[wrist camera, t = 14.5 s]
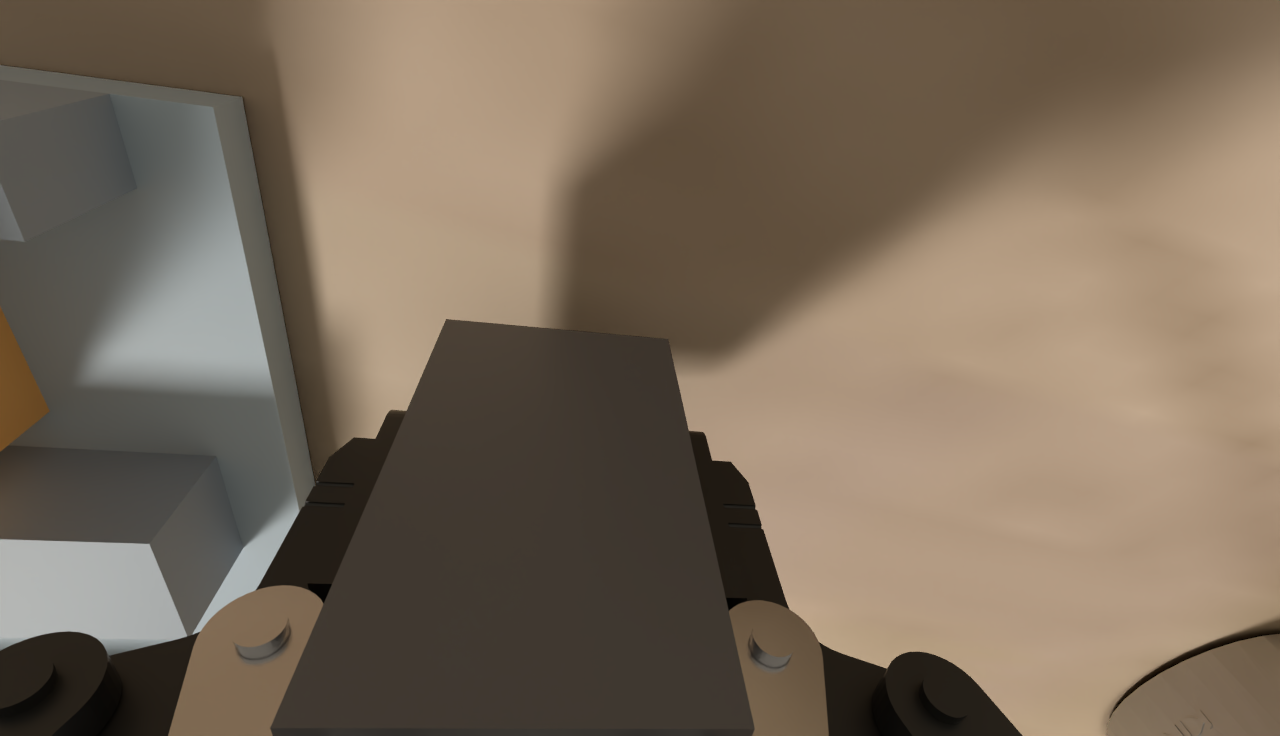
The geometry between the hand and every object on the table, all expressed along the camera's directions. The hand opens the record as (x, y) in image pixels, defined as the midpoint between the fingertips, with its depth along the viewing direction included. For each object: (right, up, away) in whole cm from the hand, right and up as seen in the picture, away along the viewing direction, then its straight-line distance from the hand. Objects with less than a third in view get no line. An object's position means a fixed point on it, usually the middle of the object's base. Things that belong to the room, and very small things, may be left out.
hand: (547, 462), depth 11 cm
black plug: (0, +1, +1) cm, 1 cm away
